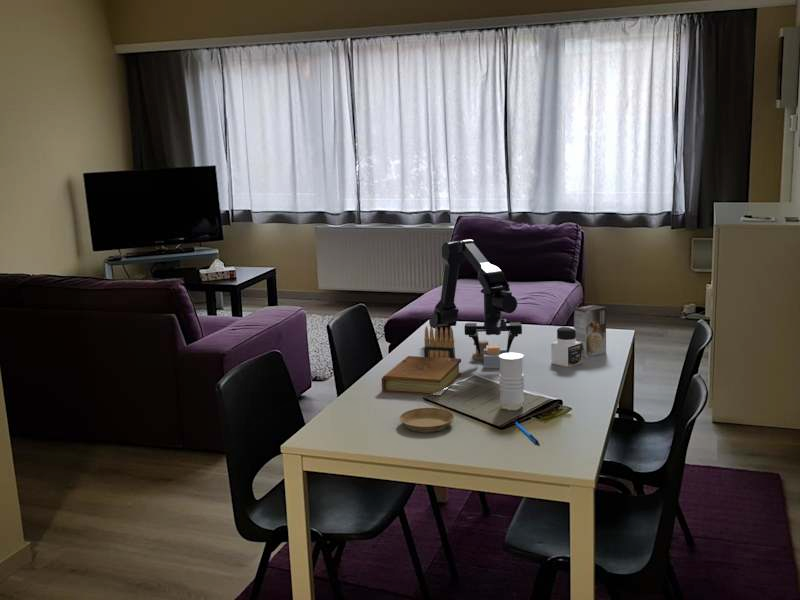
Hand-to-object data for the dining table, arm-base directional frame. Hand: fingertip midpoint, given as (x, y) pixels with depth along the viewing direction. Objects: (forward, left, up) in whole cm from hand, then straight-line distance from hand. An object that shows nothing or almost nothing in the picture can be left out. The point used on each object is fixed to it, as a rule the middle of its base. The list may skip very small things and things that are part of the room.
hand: (493, 353), depth 283 cm
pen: (+64, +8, -4) cm, 65 cm away
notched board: (0, +1, -4) cm, 4 cm away
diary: (+20, -22, -4) cm, 30 cm away
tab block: (0, 0, -2) cm, 2 cm away
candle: (+44, +5, -4) cm, 44 cm away
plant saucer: (+58, -18, -4) cm, 61 cm away
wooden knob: (-8, -4, -4) cm, 10 cm away
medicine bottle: (0, +24, -4) cm, 24 cm away
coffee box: (-12, +33, -4) cm, 35 cm away
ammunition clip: (-4, -18, -4) cm, 19 cm away
